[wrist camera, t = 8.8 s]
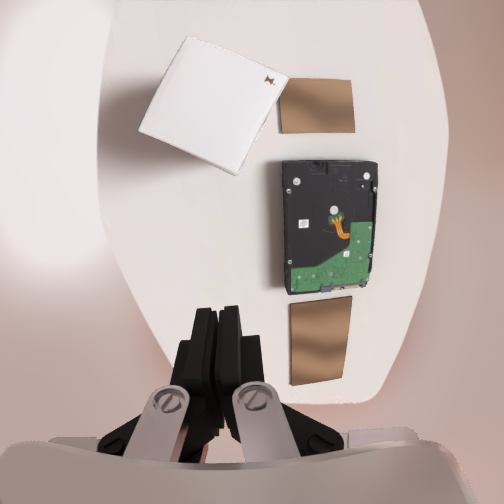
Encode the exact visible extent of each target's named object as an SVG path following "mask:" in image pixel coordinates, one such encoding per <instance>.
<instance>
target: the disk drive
mask: <svg viewBox="0 0 504 504" xmlns="http://www.w3.org/2000/svg"><path fill="white" fill-rule="evenodd" d="M282 172H283V173H282V186H283V199H284V202H283V204H284V237H285V239H284V243H285V244H284V245H285V262H284V272H285V288H286V291H287V293H288V295H298V294H309V293H318V292H321V293H323V292H331V291H332V289H333V290H341V288H343V289H348V288H357V287H359V286H361V288H363V287H366V284H367V281H369V275H370V272H371V269H372V257H373V256H372V255H373V247H374V238H375V224H376V207H377V188H378V164H377V163H376V162H371V161H351V160H350V161H349V160H299V161H298V160H297V161H282Z"/></svg>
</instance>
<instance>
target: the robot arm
mask: <svg viewBox="0 0 504 504" xmlns="http://www.w3.org/2000/svg"><path fill="white" fill-rule="evenodd" d="M224 418H225V420H226V423H227V427H228V428H229V429H230V432H231V436H232V437H233V438H234V439H235V440H237V441H238V442H240V443H241V444H242V448H243V453H244V457H245V461H246V463H217V464H208V463H207V464H206V463H205V459H206V456H207V451H208V442H209V441H211V440H212V439H213V438H214V436H219V429H223V428H224ZM0 504H479V503H478V500H477V498H476V495H475V493H474V491H473V489H472V487H471V484H470V482H469V480H468V478H467V476H466V474H465V473H464V471H463V469H462V467H461V466H460V464H459V462H458V461H457V460H456V458H455V457H454V455H453V454H452V453H451V452H450V451H449V450H448V449H447V448H446V447H444V446H443V445H441V444H439V443H437V442H433V441H427V440H419V438H418V436H417V433H416V432H415V431H414V430H412V429H410V428H408V427H393V428H381V429H367V430H349V432H348V433H338V432H336V431H335V430H334V429H332V428H330V427H328V426H326V425H323V424H321V423H319V422H317V421H315V420H313V419H311V418H309V417H308V416H305V415H304V414H302V413H300V412H298V411H296V410H294V409H292V408H290V407H288V406H287V405H285V404H283V403H281V402H280V400H279V397H278V394H277V392H276V390H275V389H274V388H273V387H272V386H271V385H270V384H267V383H265V382H264V373H263V364H262V355H261V345H260V336H259V335H252V336H242V330H241V323H240V315H239V308H238V305H235V306H225V307H224V310H220V312H219V323H218V317H217V312H216V311H212V310H211V308H198V309H197V311H196V315H195V320H194V325H193V330H192V335H191V340H181V341H180V343H179V347H178V351H177V356H176V360H175V364H174V368H173V373H172V377H171V382H170V385H167V386H163V387H161V388H159V389H157V390H155V391H154V392H153V393H152V394H151V396H150V397H149V399H148V401H147V403H146V406H145V408H144V410H143V412H142V414H140V415H139V416H137V417H136V418H134V419H132V420H131V421H129V422H127V423H126V424H124V425H122V426H121V427H119V428H117V429H115V430H114V431H112V432H110V433H108V434H107V435H105V436H104V437H103V438H102V439H98V438H97V437H56V438H53V439H51V440H50V441H48V442H44V441H43V442H42V441H26V442H19V443H15V444H12V445H11V446H9V447H8V448H7V449H6V450H5V451H4V452H3V454H2V455H1V456H0Z"/></svg>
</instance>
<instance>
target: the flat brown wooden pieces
mask: <svg viewBox="0 0 504 504" xmlns="http://www.w3.org/2000/svg"><path fill="white" fill-rule="evenodd" d="M279 101H280V112H281V124H282V134H284V133H316V132H345V133H355V121H354V108H353V97H352V87H351V80H337V79H309V78H289V80H288V82H287V84H286V85H285V87H284V89H283V91H282V92H281V94H280V96H279ZM351 306H352V296H347V297H340V298H333V299H325V300H318V301H310V302H301V303H293V304H291V357H292V380H291V385H292V386H296V385H303V384H310V383H316V382H322V381H328V380H334V379H339V378H342V374H343V368H344V362H345V355H346V348H347V340H348V333H349V324H350V315H351Z"/></svg>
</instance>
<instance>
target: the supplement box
mask: <svg viewBox="0 0 504 504" xmlns="http://www.w3.org/2000/svg"><path fill="white" fill-rule="evenodd" d="M288 80H289V77H288V76H286V75H284V74H282V73H279V72H277V71H275V70H273V69H271V68H269V67H266V66H264V65H262V64H260V63H257V62H255V61H253V60H250V59H248V58H246V57H243V56H241V55H238V54H235V53H233V52H231V51H228V50H225V49H223V48H220V47H218V46H215V45H212V44H209V43H207V42H204V41H201V40H198V39H195V38H192V37H186V39H185V40H184V42H183V43H182V45H181V47H180V48H179V50H178V52H177V53H176V55H175V57H174V58H173V60H172V62H171V64H170V65H169V67H168V69H167V71H166V73H165V75H164V77H163V78H162V80H161V82H160V84H159V86H158V88H157V90H156V92H155V94H154V96H153V98H152V100H151V102H150V104H149V107H148V109H147V111H146V113H145V115H144V118H143V120H142V122H141V125H140V127H139V129H138V131H139V132H141V133H144V134H146V135H148V136H150V137H153V138H155V139H157V140H160V141H162V142H164V143H166V144H169V145H171V146H173V147H175V148H177V149H180V150H182V151H184V152H186V153H188V154H190V155H192V156H194V157H196V158H198V159H201V160H203V161H205V162H207V163H209V164H211V165H213V166H215V167H217V168H219V169H221V170H223V171H225V172H227V173H229V174H231V175H233V176H236V175H238V174H239V172H240V170H241V168H242V166H243V164H244V162H245V160H246V158H247V156H248V154H249V153H250V151H251V149H252V147H253V145H254V143H255V141H256V139H257V137H258V135H259V133H260V132H261V130H262V128H263V126H264V124H265V122H266V121H267V118H268V116H269V115H270V113H271V111H272V109H273V107H274V105H275V103H276V102H277V100H278V98H279V96H280V94H281V92H282V91H283V89H284V87H285V85H286V84H287V82H288Z"/></svg>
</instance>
